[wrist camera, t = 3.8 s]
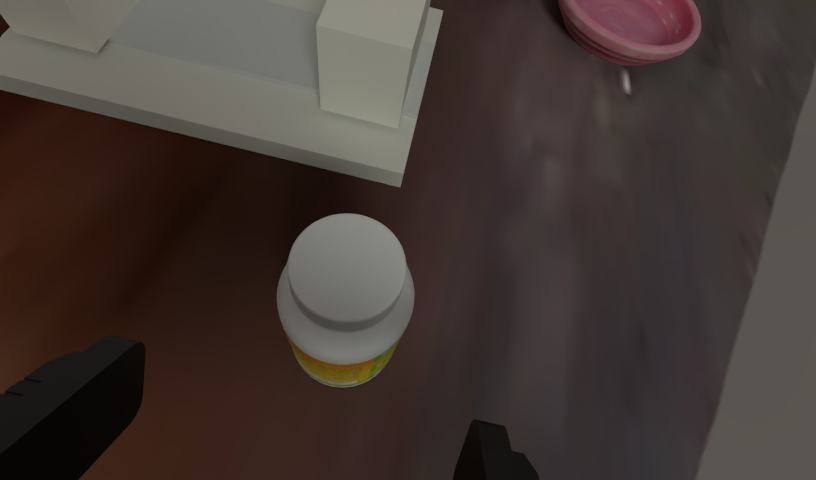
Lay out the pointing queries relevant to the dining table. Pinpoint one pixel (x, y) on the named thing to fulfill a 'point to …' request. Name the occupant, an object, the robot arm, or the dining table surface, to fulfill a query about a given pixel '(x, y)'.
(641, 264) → the dining table surface
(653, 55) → the saucer
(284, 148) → the rail panel
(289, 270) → the supplement bottle
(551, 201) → the dining table surface
